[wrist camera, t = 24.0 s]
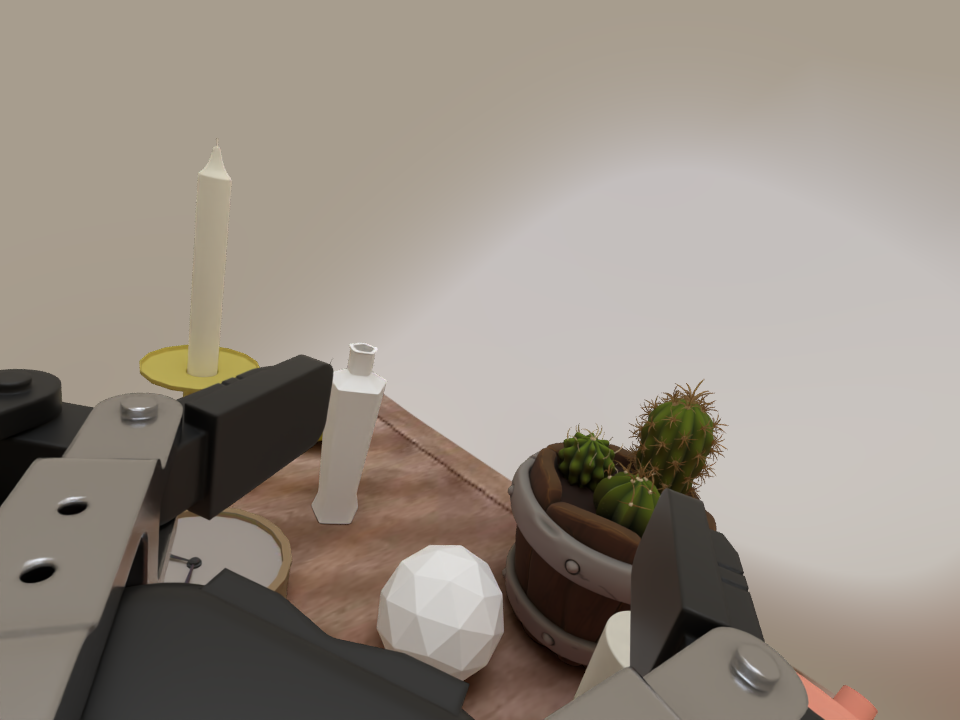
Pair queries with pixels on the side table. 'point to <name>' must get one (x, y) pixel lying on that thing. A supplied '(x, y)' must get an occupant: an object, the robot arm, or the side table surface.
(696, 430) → the flowerpot
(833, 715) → the teapot
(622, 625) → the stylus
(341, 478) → the perfume bottle
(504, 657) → the side table surface
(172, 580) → the alarm clock
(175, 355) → the candle
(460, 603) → the geometric ball
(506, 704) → the side table surface
